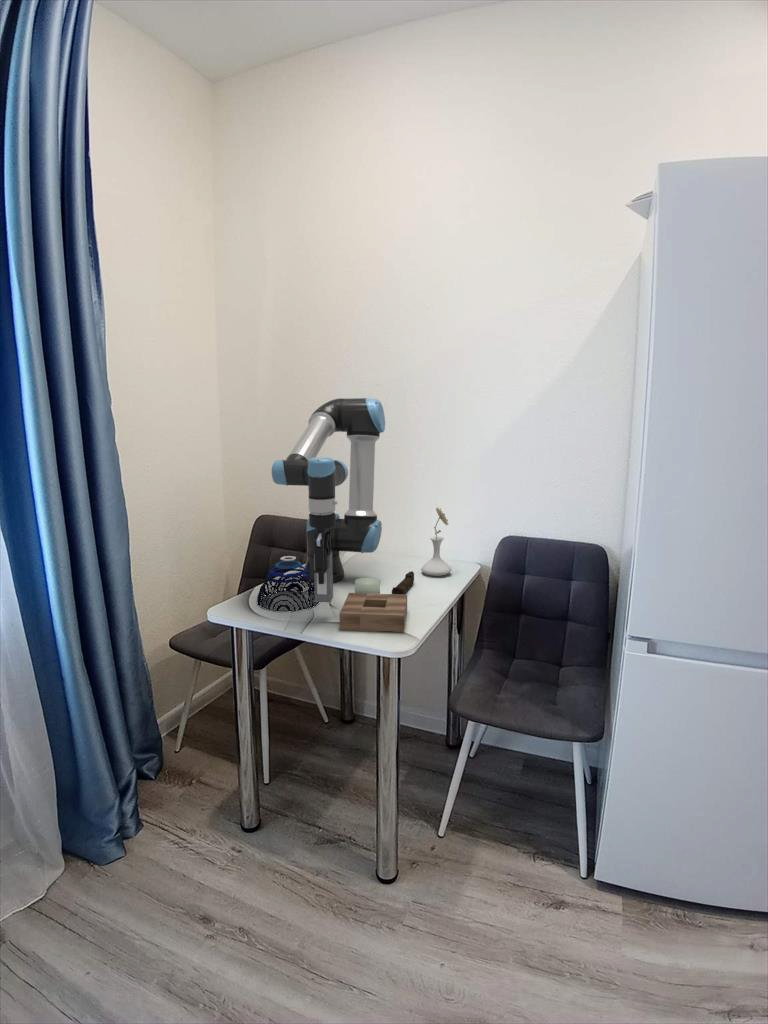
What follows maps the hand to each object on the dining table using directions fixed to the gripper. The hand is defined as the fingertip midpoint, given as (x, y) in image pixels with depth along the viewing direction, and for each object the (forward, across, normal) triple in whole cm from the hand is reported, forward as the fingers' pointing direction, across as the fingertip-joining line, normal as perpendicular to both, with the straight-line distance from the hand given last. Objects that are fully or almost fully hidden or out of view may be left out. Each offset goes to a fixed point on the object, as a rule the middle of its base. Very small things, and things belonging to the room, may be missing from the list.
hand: (323, 590), depth 167 cm
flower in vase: (+10, +50, -33) cm, 61 cm away
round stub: (+9, +15, -11) cm, 21 cm away
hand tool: (+10, +30, -22) cm, 38 cm away
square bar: (+3, 0, 0) cm, 3 cm away
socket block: (+9, 0, -15) cm, 17 cm away
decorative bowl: (+9, +14, +14) cm, 22 cm away
